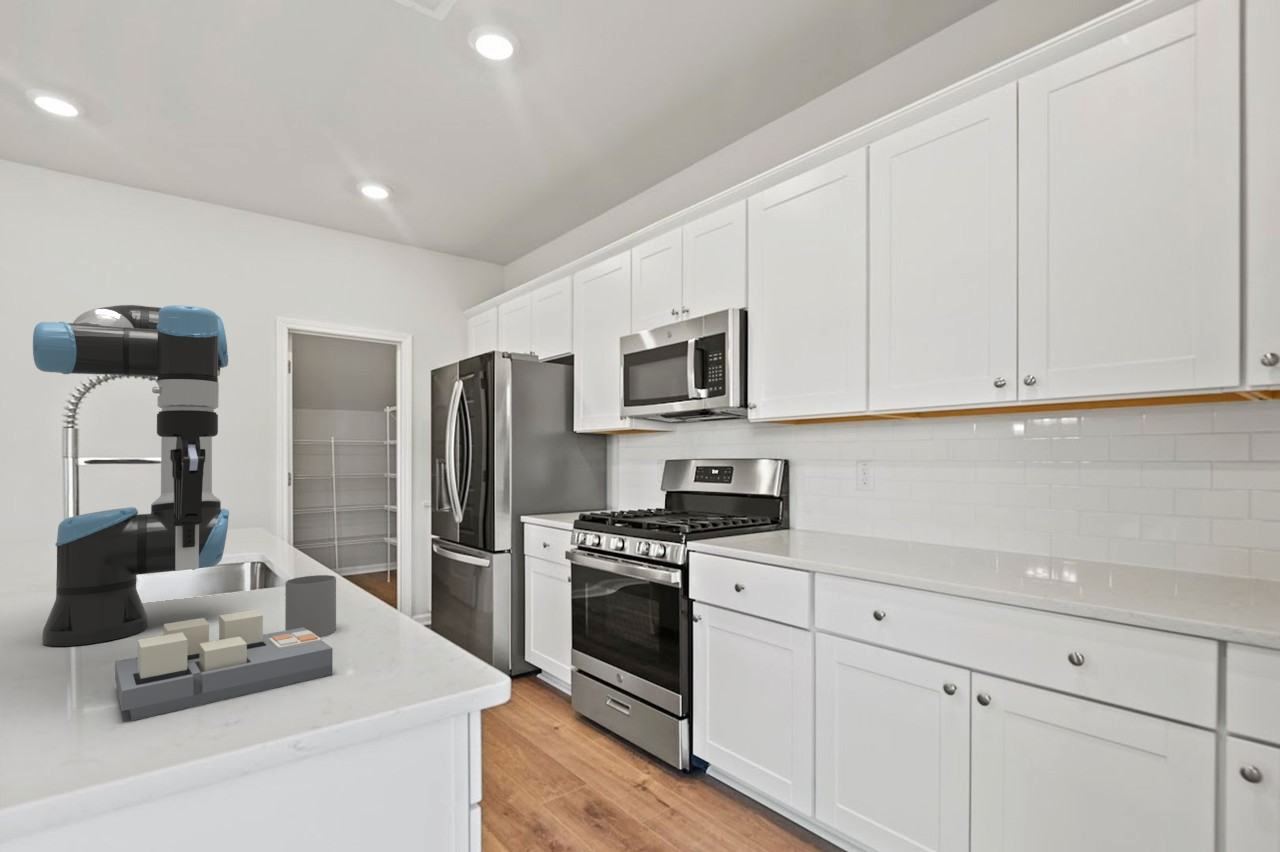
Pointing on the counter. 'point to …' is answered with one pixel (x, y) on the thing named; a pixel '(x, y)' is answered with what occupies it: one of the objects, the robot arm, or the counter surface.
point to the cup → (311, 604)
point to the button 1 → (162, 655)
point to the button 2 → (190, 632)
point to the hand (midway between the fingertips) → (187, 568)
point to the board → (225, 675)
